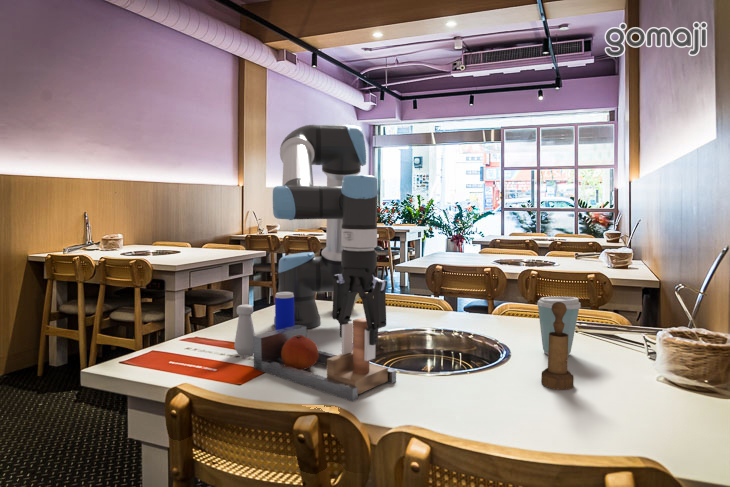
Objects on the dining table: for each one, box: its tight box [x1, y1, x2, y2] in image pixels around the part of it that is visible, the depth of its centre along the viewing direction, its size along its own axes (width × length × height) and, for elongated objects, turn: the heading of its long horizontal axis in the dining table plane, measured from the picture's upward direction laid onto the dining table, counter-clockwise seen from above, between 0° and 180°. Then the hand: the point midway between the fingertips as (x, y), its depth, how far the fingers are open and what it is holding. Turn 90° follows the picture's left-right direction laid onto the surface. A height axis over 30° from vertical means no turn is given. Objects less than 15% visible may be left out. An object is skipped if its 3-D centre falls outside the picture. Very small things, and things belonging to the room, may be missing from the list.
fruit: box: [281, 335, 319, 371], centre depth 121 cm, size 9×9×8 cm
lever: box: [326, 318, 389, 395], centre depth 109 cm, size 11×8×14 cm
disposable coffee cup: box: [536, 296, 582, 357], centre depth 132 cm, size 11×11×15 cm
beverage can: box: [274, 291, 294, 330], centre depth 139 cm, size 5×5×15 cm
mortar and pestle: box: [540, 302, 574, 391], centre depth 109 cm, size 7×6×18 cm
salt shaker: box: [233, 303, 256, 357], centre depth 132 cm, size 6×6×13 cm
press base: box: [253, 325, 397, 402], centre depth 116 cm, size 14×32×8 cm, turn 50°
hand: (358, 355), depth 109 cm, fingers open, 6 cm apart
